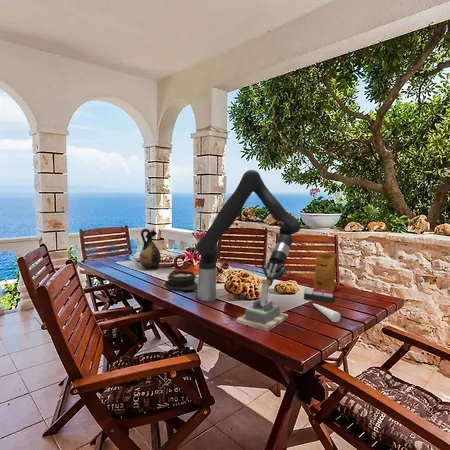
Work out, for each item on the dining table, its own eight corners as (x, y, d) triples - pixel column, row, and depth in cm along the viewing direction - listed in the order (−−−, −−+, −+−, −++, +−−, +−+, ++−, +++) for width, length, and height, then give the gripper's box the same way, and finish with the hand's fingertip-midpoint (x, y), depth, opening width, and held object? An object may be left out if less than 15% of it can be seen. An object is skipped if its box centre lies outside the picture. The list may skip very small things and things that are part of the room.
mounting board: (258, 309, 159) (258, 306, 159) (288, 317, 150) (288, 314, 150) (236, 322, 144) (236, 318, 144) (267, 331, 135) (267, 328, 134)
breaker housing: (261, 309, 155) (261, 295, 155) (279, 314, 149) (280, 299, 149) (245, 318, 144) (245, 303, 143) (264, 324, 138) (264, 308, 138)
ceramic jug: (154, 265, 252) (154, 227, 249) (164, 269, 240) (164, 228, 237) (134, 268, 241) (133, 228, 238) (143, 272, 229) (142, 230, 226)
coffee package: (315, 286, 200) (316, 250, 197) (336, 289, 194) (338, 252, 191) (311, 290, 191) (312, 253, 189) (332, 293, 185) (334, 255, 183)
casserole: (157, 285, 198) (157, 272, 197) (181, 280, 211) (181, 267, 210) (181, 295, 180) (181, 280, 180) (207, 288, 193) (207, 274, 192)
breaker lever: (260, 306, 148) (263, 279, 149) (267, 307, 146) (271, 280, 147) (257, 306, 146) (261, 279, 147) (264, 308, 144) (268, 280, 145)
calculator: (333, 296, 169) (304, 292, 174) (332, 304, 170) (303, 299, 175) (333, 290, 180) (306, 286, 185) (333, 298, 180) (305, 293, 185)
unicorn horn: (319, 304, 168) (320, 295, 168) (341, 323, 145) (341, 312, 144) (310, 304, 168) (311, 295, 167) (330, 323, 144) (331, 313, 144)
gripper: (265, 248, 158) (252, 278, 150) (290, 251, 150) (278, 283, 142) (270, 256, 163) (258, 287, 155) (294, 260, 155) (283, 292, 147)
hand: (267, 285), depth 148 cm, fingers closed
